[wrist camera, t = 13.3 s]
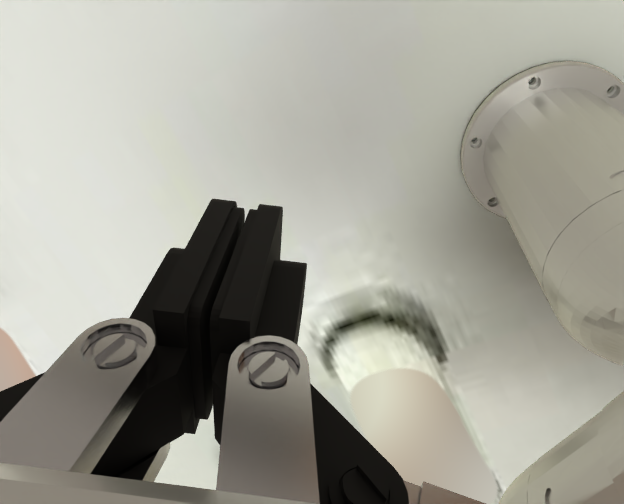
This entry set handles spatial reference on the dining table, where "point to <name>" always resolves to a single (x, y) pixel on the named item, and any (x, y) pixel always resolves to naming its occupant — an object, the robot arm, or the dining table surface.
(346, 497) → the robot arm
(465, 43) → the dining table surface
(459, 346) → the dining table surface
